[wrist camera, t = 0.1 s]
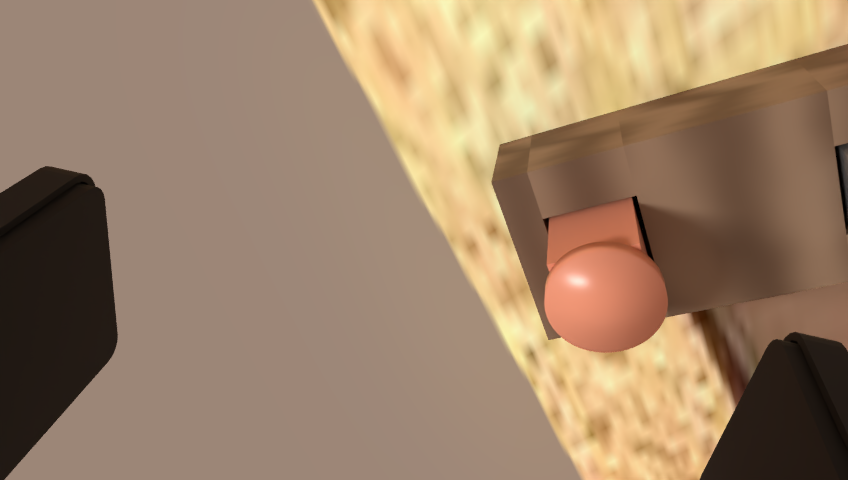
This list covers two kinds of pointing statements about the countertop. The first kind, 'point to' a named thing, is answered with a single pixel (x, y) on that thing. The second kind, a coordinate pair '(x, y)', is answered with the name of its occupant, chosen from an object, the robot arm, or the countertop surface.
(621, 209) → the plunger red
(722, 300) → the block
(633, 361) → the countertop surface
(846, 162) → the plunger steel
